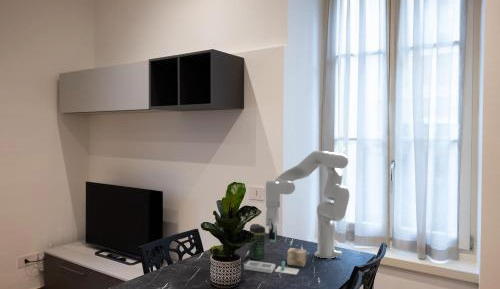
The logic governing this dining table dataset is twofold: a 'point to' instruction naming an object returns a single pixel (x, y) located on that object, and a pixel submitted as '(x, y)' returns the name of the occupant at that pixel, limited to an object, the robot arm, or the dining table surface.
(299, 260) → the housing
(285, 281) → the dining table surface
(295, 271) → the card
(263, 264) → the socket board
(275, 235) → the pin
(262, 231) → the coffee jar
